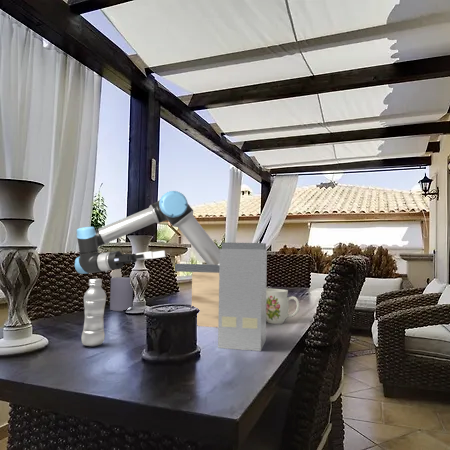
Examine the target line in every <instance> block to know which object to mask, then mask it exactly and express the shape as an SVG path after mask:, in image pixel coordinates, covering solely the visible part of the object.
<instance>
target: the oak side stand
mask: <svg viewBox="0 0 450 450" xmlns="http://www.w3.org/2000/svg"><path fill="white" fill-rule="evenodd" d="M192 306H194V307H196V308H198V309H199V310H200V312H199V313H198V315H197V325H198V326H197V327H210V328H211V327H212V328H218V322H219V273H208V272H191V307H192Z"/></svg>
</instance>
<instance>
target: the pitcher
mask: <svg viewBox="0 0 450 450" xmlns="http://www.w3.org/2000/svg"><path fill="white" fill-rule="evenodd" d="M288 294H289V290H288V289H283V288H282V289H280V288H271V287H269V288H268V287H266V323H268V324H273V325H274V324H275V325H281V324H284V322H285V320H286V319H290V318H293V317H295V316H297V314H298V313H299V311H300V301H299V299H298V298H297V297H296V296H288ZM291 300H294V301H295V302H296V309H295V311H294V312H293V313H292V312H291V313H290V314H289V311H290V304H289V302H290V301H291Z"/></svg>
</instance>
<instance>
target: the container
mask: <svg viewBox="0 0 450 450" xmlns="http://www.w3.org/2000/svg"><path fill="white" fill-rule="evenodd" d="M130 278H131V277H129V276H127V277H120V276H119V277H110V292H109V293H110V294H109V295H110V296H109V310H110V311H111V310H113V311H112V312H124V311H123V310H126V309H128V308H129V307H131V306H132V307H133V294H134V291H133V290H134V289H132V287H131V284H130Z"/></svg>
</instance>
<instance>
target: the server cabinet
mask: <svg viewBox="0 0 450 450" xmlns="http://www.w3.org/2000/svg"><path fill="white" fill-rule="evenodd" d="M219 250H220V267H219V322H218V327H217V329H218V330H217V331H218V333H217V335H218V336H217V337H218V338H217V340H218V341H217V348H218V349H226V350H227V349H228V350H239V351H241V350H242V351H251V350H252V351H254V352H256V351H257V352H262V349H263V347H264V346H265V343H266V341H267V321H266V288H267V280H268V279H267V273H268V272H267V266H268V264H267V261H268V257H267V255H268V249H267V243H264V242H221V248H219ZM252 351H251V352H252Z"/></svg>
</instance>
